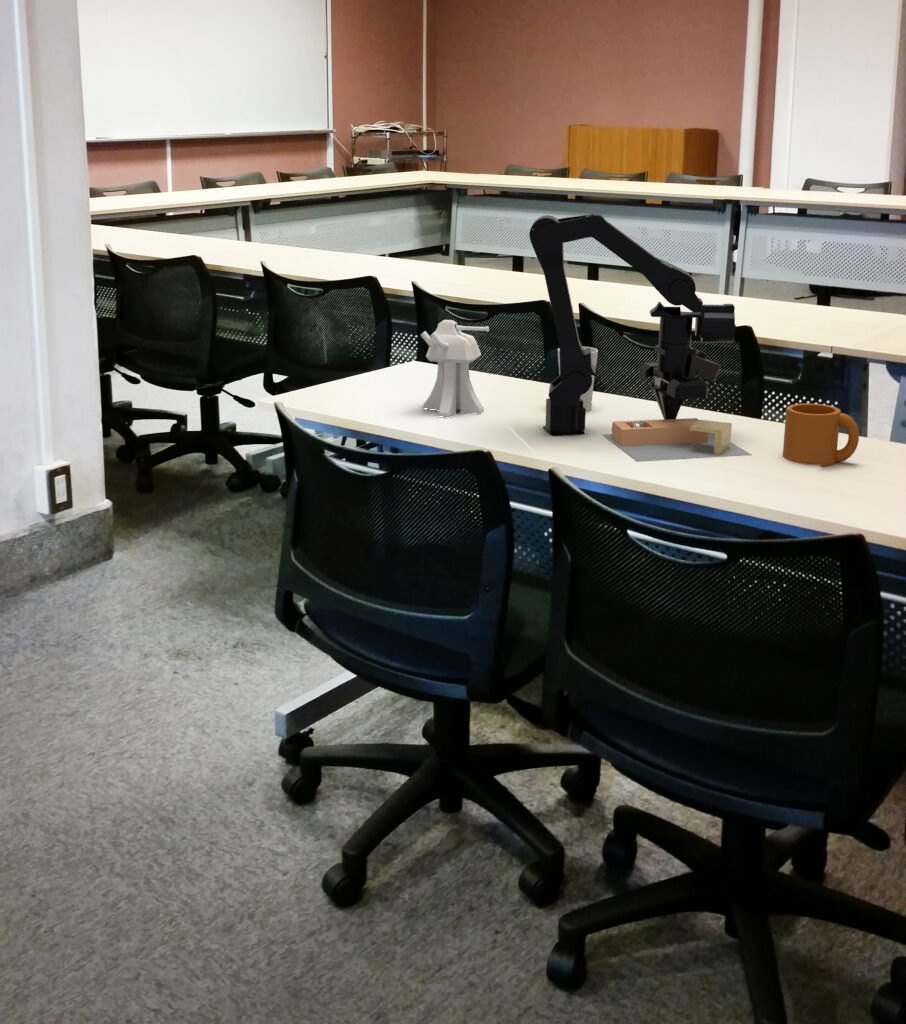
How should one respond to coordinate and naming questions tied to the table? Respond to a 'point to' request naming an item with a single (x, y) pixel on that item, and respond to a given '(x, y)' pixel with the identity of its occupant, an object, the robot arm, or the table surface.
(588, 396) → the cup
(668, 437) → the link
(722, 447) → the keeper
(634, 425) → the cylinder
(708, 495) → the table surface
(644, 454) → the mat
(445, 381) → the white mech figurine
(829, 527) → the table surface
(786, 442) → the mug
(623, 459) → the table surface
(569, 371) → the robot arm
